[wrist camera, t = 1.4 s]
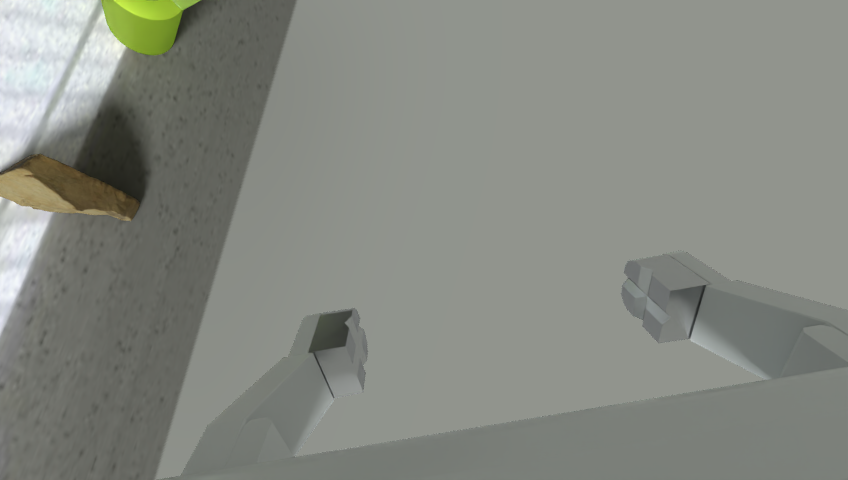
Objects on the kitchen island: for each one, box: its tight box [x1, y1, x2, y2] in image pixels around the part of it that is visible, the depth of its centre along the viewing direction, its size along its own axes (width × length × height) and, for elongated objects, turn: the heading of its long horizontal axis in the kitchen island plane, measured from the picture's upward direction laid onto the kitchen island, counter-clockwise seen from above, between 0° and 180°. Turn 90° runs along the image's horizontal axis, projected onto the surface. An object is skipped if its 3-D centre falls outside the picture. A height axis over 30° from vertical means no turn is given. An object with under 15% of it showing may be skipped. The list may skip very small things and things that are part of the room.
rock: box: [0, 154, 140, 221], centre depth 34 cm, size 11×9×10 cm
